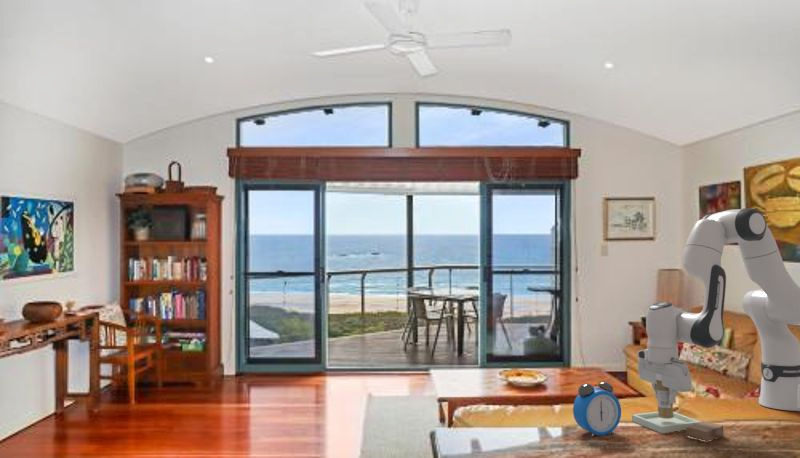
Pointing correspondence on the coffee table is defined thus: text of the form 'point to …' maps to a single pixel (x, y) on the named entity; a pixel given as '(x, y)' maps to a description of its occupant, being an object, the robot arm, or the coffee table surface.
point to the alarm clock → (597, 408)
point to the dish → (663, 422)
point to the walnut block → (704, 431)
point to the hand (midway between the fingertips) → (665, 400)
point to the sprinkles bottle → (663, 400)
